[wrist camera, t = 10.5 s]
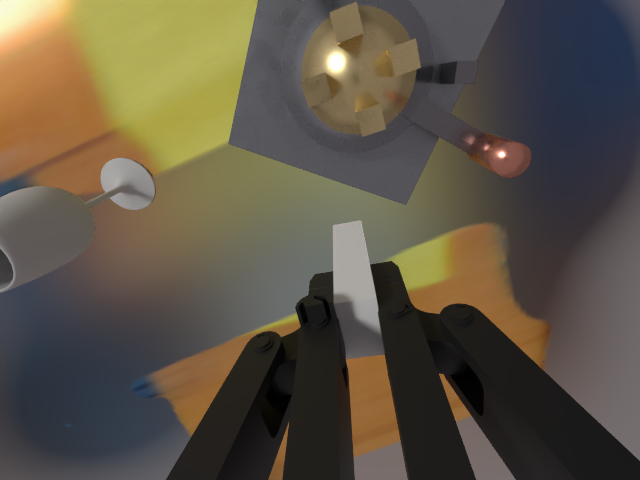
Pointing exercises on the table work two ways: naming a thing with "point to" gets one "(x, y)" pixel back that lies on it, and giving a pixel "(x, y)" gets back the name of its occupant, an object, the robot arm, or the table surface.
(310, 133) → the housing
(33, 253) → the wineglass
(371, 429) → the table surface
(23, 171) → the table surface
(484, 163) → the tan handled round piece
